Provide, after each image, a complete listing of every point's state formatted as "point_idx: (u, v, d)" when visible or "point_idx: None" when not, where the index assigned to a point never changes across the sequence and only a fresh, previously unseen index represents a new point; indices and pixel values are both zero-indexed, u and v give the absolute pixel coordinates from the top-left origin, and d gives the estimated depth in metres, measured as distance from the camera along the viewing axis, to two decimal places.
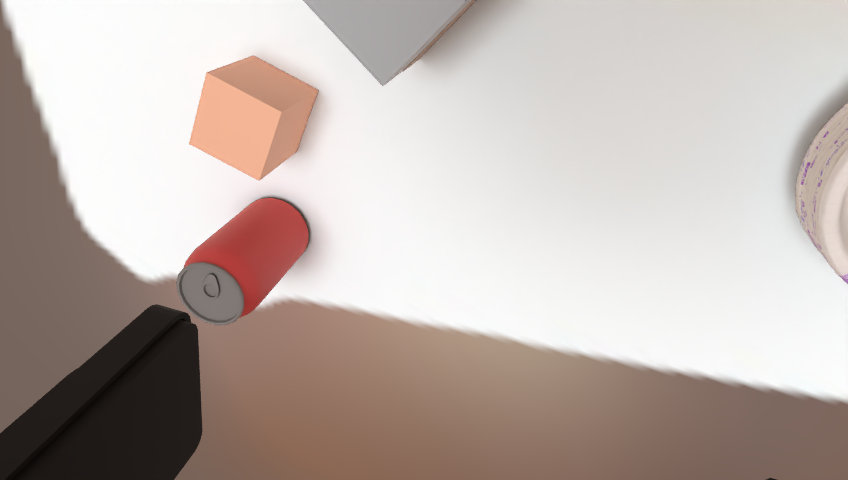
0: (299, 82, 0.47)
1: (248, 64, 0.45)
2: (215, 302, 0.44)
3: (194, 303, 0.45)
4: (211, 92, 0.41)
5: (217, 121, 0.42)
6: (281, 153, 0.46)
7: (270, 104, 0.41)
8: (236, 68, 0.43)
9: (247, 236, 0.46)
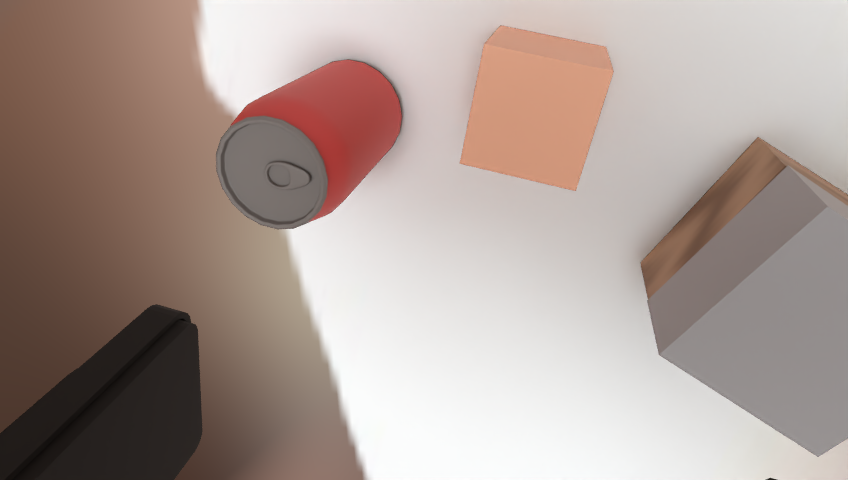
0: None
1: None
2: (260, 181, 0.27)
3: (238, 144, 0.27)
4: (582, 80, 0.26)
5: (536, 92, 0.27)
6: None
7: (581, 169, 0.29)
8: None
9: (366, 160, 0.30)
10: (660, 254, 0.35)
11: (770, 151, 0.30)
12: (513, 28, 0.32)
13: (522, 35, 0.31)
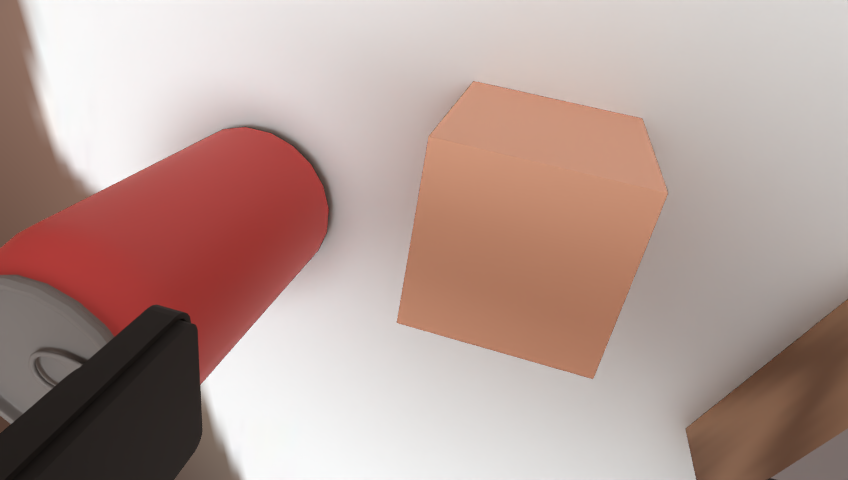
0: None
1: None
2: (30, 375, 0.15)
3: None
4: (607, 206, 0.14)
5: (524, 221, 0.15)
6: None
7: (603, 345, 0.16)
8: None
9: (242, 312, 0.18)
10: (720, 431, 0.23)
11: None
12: (493, 86, 0.20)
13: (506, 103, 0.19)
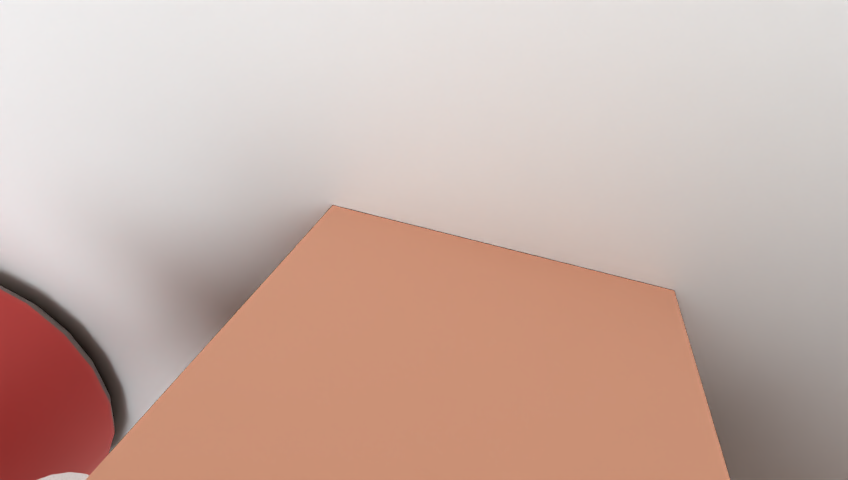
0: None
1: None
2: None
3: None
4: None
5: None
6: None
7: None
8: None
9: None
10: None
11: None
12: (369, 221, 0.10)
13: (374, 287, 0.08)
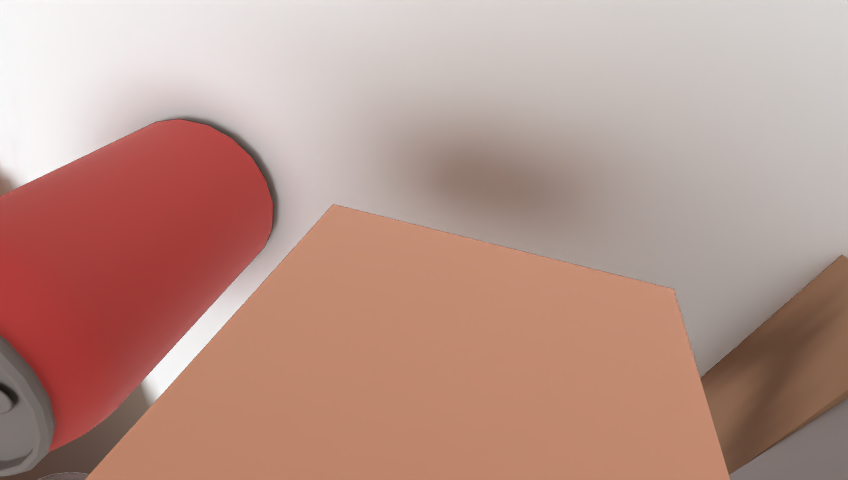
0: None
1: None
2: None
3: None
4: None
5: None
6: None
7: None
8: None
9: (173, 317, 0.17)
10: None
11: None
12: (370, 220, 0.10)
13: (374, 285, 0.08)
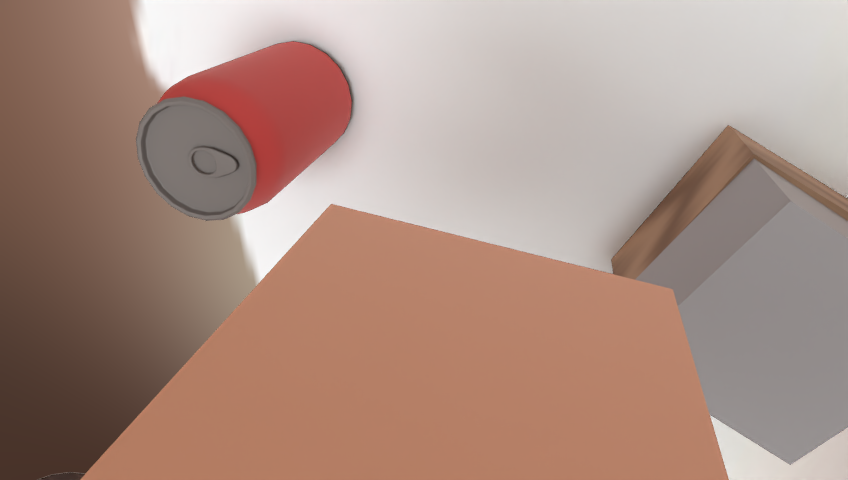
0: None
1: None
2: (185, 168, 0.25)
3: (159, 129, 0.25)
4: None
5: None
6: None
7: None
8: None
9: (305, 146, 0.28)
10: (630, 250, 0.34)
11: (739, 139, 0.29)
12: (368, 219, 0.10)
13: (372, 285, 0.08)
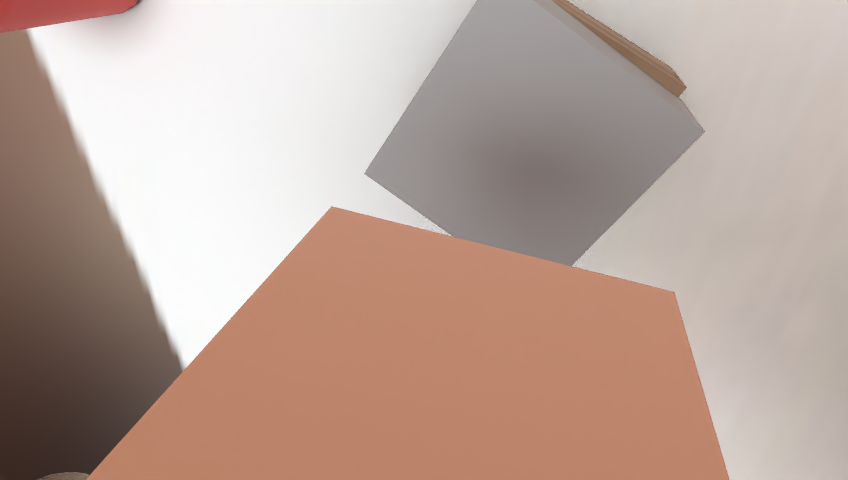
0: None
1: None
2: None
3: None
4: None
5: None
6: None
7: None
8: None
9: None
10: None
11: None
12: (368, 222, 0.10)
13: (372, 289, 0.08)
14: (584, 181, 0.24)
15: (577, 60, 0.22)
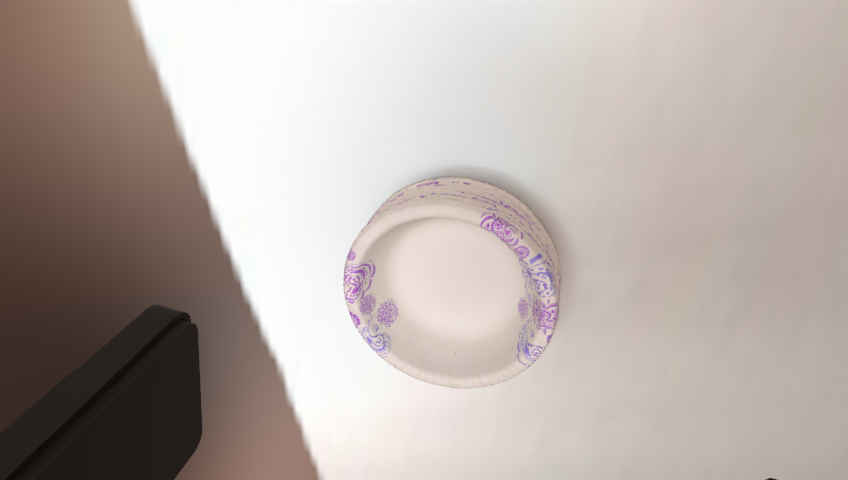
0: None
1: None
2: None
3: None
4: None
5: None
6: None
7: None
8: None
9: None
10: None
11: None
12: None
13: None
14: None
15: None
